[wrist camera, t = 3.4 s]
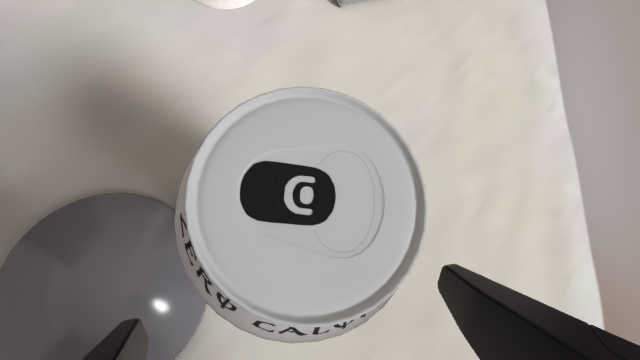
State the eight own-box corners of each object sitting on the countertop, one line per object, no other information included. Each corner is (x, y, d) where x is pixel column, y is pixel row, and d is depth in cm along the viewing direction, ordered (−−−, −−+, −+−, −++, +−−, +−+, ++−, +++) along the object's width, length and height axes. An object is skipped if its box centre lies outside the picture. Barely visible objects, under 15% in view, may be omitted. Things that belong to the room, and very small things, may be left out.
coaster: (240, 236, 20) (240, 236, 20) (149, 428, 17) (145, 434, 16) (77, 168, 20) (72, 165, 19) (-51, 352, 16) (-63, 355, 16)
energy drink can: (321, 296, 20) (462, 372, 6) (225, 290, 19) (108, 360, 5) (328, 204, 22) (449, 86, 7) (239, 194, 21) (184, 39, 7)
